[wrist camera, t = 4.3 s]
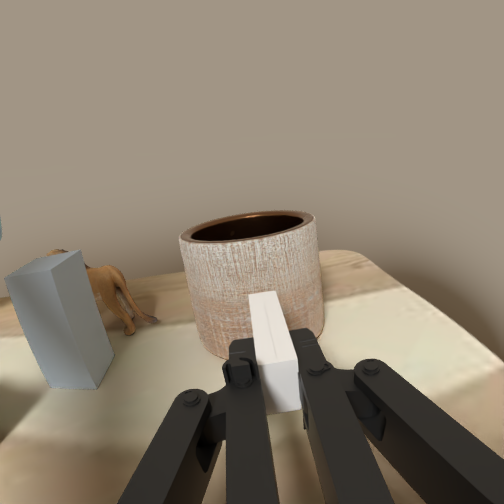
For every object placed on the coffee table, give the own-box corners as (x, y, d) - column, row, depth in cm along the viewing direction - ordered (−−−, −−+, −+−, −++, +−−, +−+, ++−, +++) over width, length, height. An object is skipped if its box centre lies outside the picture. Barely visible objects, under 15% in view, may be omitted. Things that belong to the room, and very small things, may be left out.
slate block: (97, 389, 21) (50, 269, 18) (50, 387, 21) (3, 278, 18) (114, 355, 26) (80, 249, 23) (71, 356, 25) (36, 258, 23)
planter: (348, 319, 27) (343, 211, 24) (260, 387, 20) (238, 252, 17) (262, 295, 35) (250, 208, 32) (178, 337, 28) (153, 236, 25)
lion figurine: (52, 328, 32) (28, 258, 29) (77, 309, 37) (58, 244, 34) (147, 338, 28) (121, 248, 26) (170, 313, 33) (151, 232, 31)
